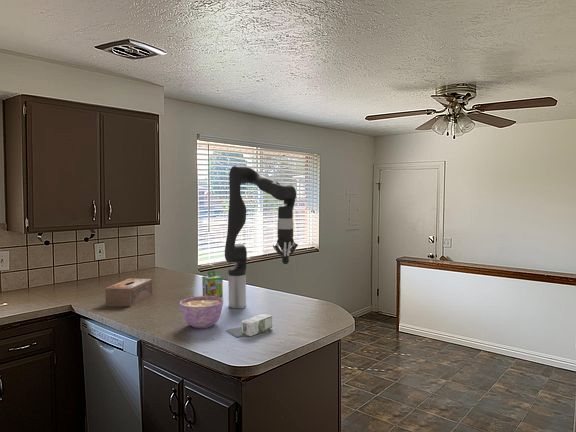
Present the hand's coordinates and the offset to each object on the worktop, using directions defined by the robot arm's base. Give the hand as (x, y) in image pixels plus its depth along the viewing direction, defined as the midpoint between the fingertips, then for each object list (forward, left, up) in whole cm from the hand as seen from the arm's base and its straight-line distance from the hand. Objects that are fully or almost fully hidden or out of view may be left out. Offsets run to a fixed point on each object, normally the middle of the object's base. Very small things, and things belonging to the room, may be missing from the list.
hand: (285, 263), depth 216 cm
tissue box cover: (-80, -55, -28) cm, 101 cm away
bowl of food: (-13, -37, -28) cm, 48 cm away
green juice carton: (-63, -12, -28) cm, 70 cm away
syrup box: (+6, -13, -24) cm, 28 cm away
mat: (+5, -23, -27) cm, 36 cm away
